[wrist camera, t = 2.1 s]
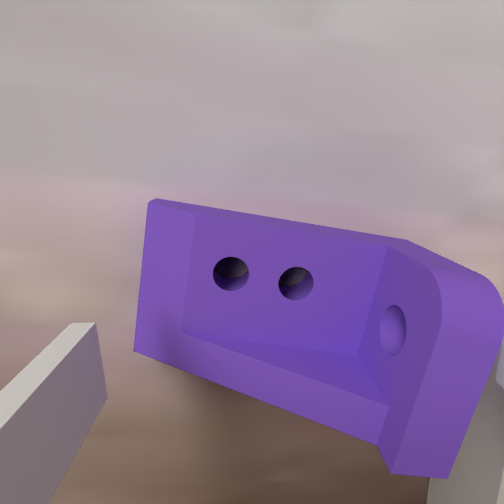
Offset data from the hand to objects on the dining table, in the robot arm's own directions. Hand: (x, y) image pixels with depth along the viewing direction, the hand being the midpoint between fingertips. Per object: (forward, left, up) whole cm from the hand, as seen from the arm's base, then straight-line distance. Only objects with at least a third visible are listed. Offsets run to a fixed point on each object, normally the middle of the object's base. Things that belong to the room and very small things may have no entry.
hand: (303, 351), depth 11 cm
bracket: (0, 0, -6) cm, 6 cm away
